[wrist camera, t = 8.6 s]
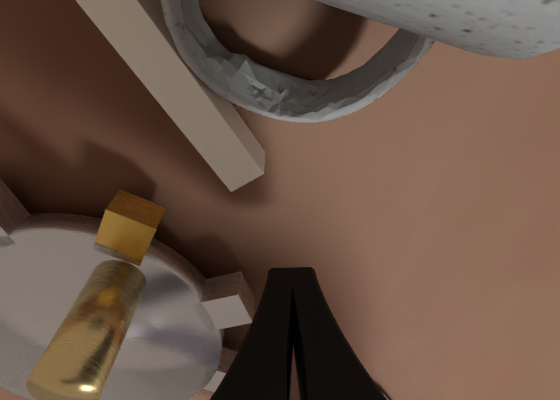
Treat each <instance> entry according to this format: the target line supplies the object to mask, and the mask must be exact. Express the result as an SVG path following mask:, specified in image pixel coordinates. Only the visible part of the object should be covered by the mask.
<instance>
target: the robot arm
mask: <svg viewBox="0 0 560 400" xmlns="http://www.w3.org/2000/svg"><path fill="white" fill-rule="evenodd" d="M293 346H294V354H295V362H296V370H297V378H298V385H299V393H300V400H389V399H388V398H387V397H386V396H385V394H383V393H382V392H381V391H380V389H379V388H378V387H377V385H376V384H375V383H374V381H373V380H372V378H371V377H370V375H369V374H368V373H367V371H366V370H365V368H364V367H363V365H362V364H361V362H360V361H359V359H358V358H357V356H356V355H355V353H354V352H353V350H352V348H351V347H350V345H349V343H348V342H347V340H346V338H345V337H344V335H343V333H342V331H341V330H340V328H339V326H338V324H337V322H336V320H335V318H334V316H333V314H332V312H331V311H330V309H329V306H328V304H327V302H326V300H325V298H324V296H323V293H322V291H321V288H320V286H319V283H318V280H317V277H316V274H315V270H314V269H313V268H311V267H298V268H272V269H270V270H269V271H268V277H267V282H266V286H265V289H264V292H263V295H262V298H261V301H260V304H259V306H258V309H257V311H256V314H255V316H254V319H253V321H252V324H251V326H250V328H249V330H248V332H247V334H246V336H245V339H244V341H243V343H242V345H241V347H240V349H239V351H238V353H237V355H236V357H235V358H234V360H233V362H232V364H231V366H230V368H229V369H228V371H227V373H226V374H225V376H224V378H223V380H222V381H221V383H220V384H219V386H218V388H217V389H216V391H215V392H214V394H213V396H212V397H211V399H210V400H290V391H291V374H292V356H293Z"/></svg>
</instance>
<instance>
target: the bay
mask: <svg viewBox="0 0 560 400" xmlns="http://www.w3.org/2000/svg"><path fill="white" fill-rule="evenodd" d="M76 2H77V3H78V4H79V5H80V7H81V8H82V9H83V10H84V11H85V13H86V14H87V15H88V16H89V18H90V19H91V20H92V21H93V23H94V24H95V25H96V26H97V27H98V29H99V30H100V31H101V32H102V34H103V35H104V36H105V37H106V39H107V40H108V41H109V42H110V44H111V45H112V46H113V47H114V48H115V50H116V51H117V52H118V53H119V55H120V56H121V57H122V58H123V60H124V61H125V62H126V63H127V64H128V66H129V67H130V68H131V69H132V71H133V72H134V73H135V74H136V76H137V77H138V78H139V79H140V81H141V82H142V83H143V84H144V85H145V87H146V88H147V89H148V90H149V92H150V93H151V94H152V95H153V97H154V98H155V99H156V100H157V101H158V103H159V104H160V105H161V106H162V108H163V109H164V110H165V111H166V113H167V114H168V115H169V116H170V117H171V119H172V120H173V121H174V122H175V124H176V125H177V126H178V127H179V129H180V130H181V131H182V132H183V134H184V135H185V136H186V137H187V138H188V140H189V141H190V142H191V143H192V145H193V146H194V147H195V148H196V150H197V151H198V152H199V153H200V154H201V156H202V157H203V158H204V159H205V161H206V162H207V163H208V164H209V166H210V167H211V168H212V169H213V171H214V172H215V173H216V174H217V175H218V177H219V178H220V179H221V180H222V182H223V183H224V184H225V185H226V187H227V188H228V189H229V190H230V191H231V192H232V191H234V190H236V189H238V188H239V187H241V186H243V185H245V184H247V183H249V182H250V181H252V180H254V179H256V178H258V177H259V176H261V175H263V174H264V167H265V153H266V152H265V150H264V149H263V148H262V146H261V145H260V143H259V142H258V140H257V139H256V138H255V136H254V135H253V133H252V132H251V131H250V129H249V128H248V126H247V125H246V123H245V122H244V121H243V119H242V118H241V116H240V115H239V113H238V112H237V111H236V109H235V108H234V106H233V105H232V104H231V102H230V101H228V100H227V99H225V98H223V97H222V96H220V95H218V94H217V93H216V92H214V91H213V90H212V89H211V88H210V87H209V86H208V85H206V84H205V83H204V82H203V81H202V80H201V79H200V78H199V77H198V76H197V75H196V74H195V73H194V72H193V70H192V69H191V68H190V67H189V66H188V65H187V64H186V62H185V61H184V60H183V58H182V57H181V55H180V53H179V52H178V50H177V48H176V45H175V43H174V41H173V38H172V36H171V34H170V32H169V29H168V27H167V25H166V23H165V19H164V14H163V9H162V4H161V2H160V1H159V0H76Z"/></svg>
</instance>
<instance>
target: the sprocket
mask: <svg viewBox="0 0 560 400" xmlns="http://www.w3.org/2000/svg"><path fill="white" fill-rule="evenodd" d="M165 209H166V208H165V207H163V206H160V205H158V204H155V203H153V202H150V201H148V200H146V199H143V198H141V197H138V196H136V195H133V194H131V193H128V192H126V191H124V190H121V189H120V190H119V191H118V192H117V194H116V195H115V197H114V198H113V200H112V201H111V202H110V204H109V205H108V207H107V208H106V210H105V213H104V216H103V219H100V218H96V217H91V216H85V215H77V214H69V213H39V214H29V213H28V211H27V210H26V209H25V208H24V206H23V205H22V204H21V203H20V202H19V200H18V199H17V198H16V197H15V195H14V194H13V193H12V192H11V191H10V189H9V188H8V187H7V186H6V184H5V183H4V182H3V181H2V179H0V387H2V388H4V389H6V390H8V391H10V392H12V393H15V394H17V395H19V396H22V397H24V398H27V399H30V400H187V399H189V398H191V397H193V396H194V395H196V394H197V393H198V392H200V391H201V390H202V389H204V390H208V391H211V392H215V391H216V389H217V388H218V386H219V384H220V383H221V381H222V380H223V378H224V376H225V374H226V373H227V371H228V369H229V368H230V366H231V364H232V362H233V360H234V358H235V357H236V355H237V353H238V351H235V350H232V349H228V348H225V347H222V343H223V336H224V329H225V328H229V327H234V326H239V325H244V324H249V323H252V321H253V314H254V300H255V298H254V296H253V294H252V292H251V290H250V288H249V286H248V284H247V282H246V280H245V278H244V276H243V274H242V272H241V271H239V272H235V273H230V274H226V275H221V276H217V277H212V278H208V279H206V278H205V277H204V276H203V275H202V274H201V273H200V271H199V270H198V269H197V268H196V267H195V266H194V265H192V264H191V263H190V262H189V261H188V260H187V259H186V258H184V257H183V256H182V255H180V254H179V253H178V252H176V251H175V250H173V249H172V248H170V247H169V246H167V245H166V244H164V243H162V242H160V241H158V240H157V239H155V238H153V236H154V234H155V232H156V230H157V227H158V225H159V223H160V221H161V218H162V216H163V214H164V212H165Z"/></svg>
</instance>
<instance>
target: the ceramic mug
mask: <svg viewBox="0 0 560 400" xmlns="http://www.w3.org/2000/svg"><path fill="white" fill-rule="evenodd" d="M160 1H161V4H162V9H163V14H164V19H165V23H166V25H167V27H168V29H169V32H170V34H171V36H172V38H173V41H174V43H175V45H176V48H177V50H178V52H179V53H180V55H181V57H182V58H183V60H184V61H185V62H186V64H187V65H188V66H189V67H190V68H191V69H192V70H193V72H194V73H195V74H196V75H197V76H198V77H199V78H200V79H201V80H202V81H203V82H204V83H205V84H206V85H208V86H209V87H210V88H211V89H212V90H213V91H214V92H216V93H217V94H218V95H220V96H222V97H223V98H225V99H227V100H228V101H230V102H232V103H234V104H236V105H238V106H241V107H242V108H244V109H246V110H249V111H251V112H254V113H257V114H260V115H263V116H266V117H270V118H273V119H277V120H283V121H288V122H299V123H313V122H323V121H328V120H333V119H336V118H339V117H342V116H345V115H348V114H351V113H353V112H355V111H357V110H359V109H361V108H363V107H365V106H366V105H368V104H370V103H372V102H373V101H375V100H377V99H378V98H379V97H381V96H382V95H383V94H385V93H386V92H387V91H389V90H390V89H391V88H393V87H394V86H395V85H396V84H397V83H398V82H399V81H400V80H401V79H402V78H403V77H404V76H405V75H406V74H407V73H408V72H409V71H410V70H411V69H412V68H413V67H414V66H415V65H416V64H417V63H418V61H419V60H420V59H421V57H422V56H423V55H424V54H425V53H426V52H427V51H428V50H429V49H430V48H431V47H432V45H433V43H434V42H435V41H439V42H442V43H445V44H448V45H451V46H454V47H458V48H461V49H464V50H467V51H470V52H473V53H477V54H480V55H486V56H494V57H502V58H511V59H523V58H529V57H533V56H536V55H540V54H544V53H547V52H550V51H553V50H555V49H558V48H560V0H315V1H318V2H321V3H324V4H327V5H330V6H333V7H336V8H339V9H342V10H345V11H348V12H351V13H354V14H357V15H360V16H363V17H366V18H369V19H372V20H375V21H378V22H381V23H384V24H388V25H391V26H394V27H397V28H400V29H399V30H398V31H397V32H396V33H395V35H394V36H393V37H392V38H391V39H390V40H389V41H388V42H387V44H386V45H385V46H384V47H383V48H382V49H381V50H379V51H378V52H377V53H376V54H375V55H374V56H373V57H372V58H371V59H370V60H369V61H367V62H366V63H365V64H364V65H363V66H361V67H359V68H357V69H355V70H353V71H351V72H349V73H348V74H345V75H342V76H339V77H337V78H335V79H329V80H320V79H317V80H311V81H309V80H306V79H300V78H297V77H294V76H291V75H288V74H285V73H282V72H279V71H277V70H274V69H271V68H268V67H265V66H263V65H260V64H258V63H255V62H253V61H252V60H251V59H250V58H249V57H247V56H246V55H245V54H237V53H230V52H229V51H228V50H227V49H226V48H225V47H224V46H223V45H222V44H221V43H220V42H219V41H218V40H217V38H216V37H215V35H214V34H213V32H212V31H211V29H210V28H209V26H208V24H207V22H206V21H205V19H204V17H203V15H202V12H201V9H200V6H199V0H160Z"/></svg>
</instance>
